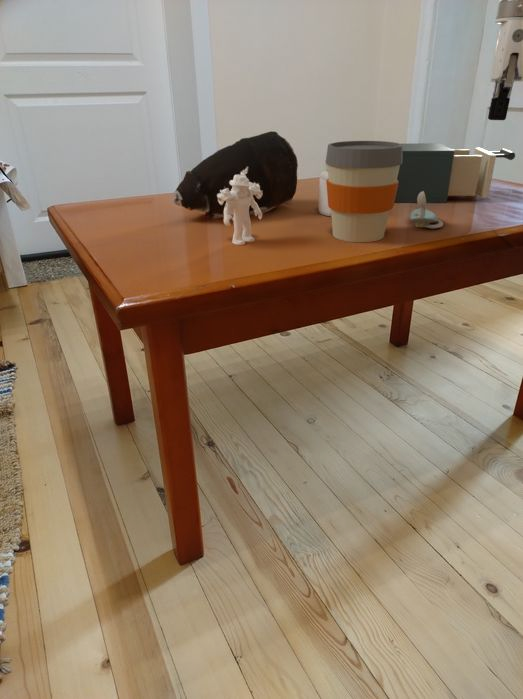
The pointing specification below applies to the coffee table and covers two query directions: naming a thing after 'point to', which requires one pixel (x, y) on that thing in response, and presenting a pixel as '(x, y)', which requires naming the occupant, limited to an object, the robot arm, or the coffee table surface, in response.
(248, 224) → the flower shoulder figurine
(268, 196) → the dark brown rounded shape
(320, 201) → the eye dropper bottle
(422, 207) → the pacifier
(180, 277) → the coffee table surface
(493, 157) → the drawer
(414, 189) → the cabinet
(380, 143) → the reusable coffee cup
